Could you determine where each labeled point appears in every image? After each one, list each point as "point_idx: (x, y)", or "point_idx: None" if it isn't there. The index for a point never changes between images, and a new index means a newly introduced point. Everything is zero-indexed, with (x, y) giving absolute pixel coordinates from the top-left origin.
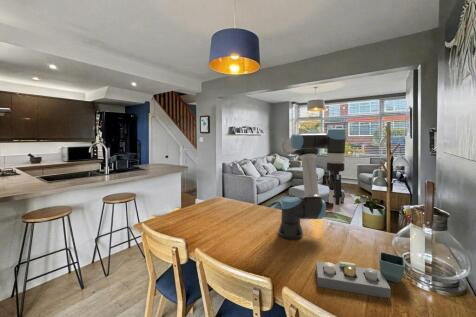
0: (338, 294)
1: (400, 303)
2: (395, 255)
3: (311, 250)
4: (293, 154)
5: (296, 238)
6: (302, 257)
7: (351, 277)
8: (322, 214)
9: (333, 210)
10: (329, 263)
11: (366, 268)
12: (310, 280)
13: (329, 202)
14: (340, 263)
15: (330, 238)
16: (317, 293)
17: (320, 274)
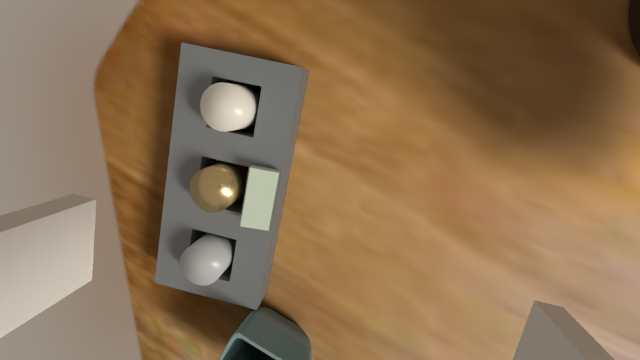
0: (168, 111)
1: None
2: None
3: (482, 95)
4: None
5: (634, 29)
6: (409, 28)
7: None
8: None
9: (73, 199)
10: (236, 111)
11: (216, 256)
12: (232, 26)
13: (534, 311)
14: (257, 168)
15: (623, 248)
16: (162, 35)
17: (201, 57)
